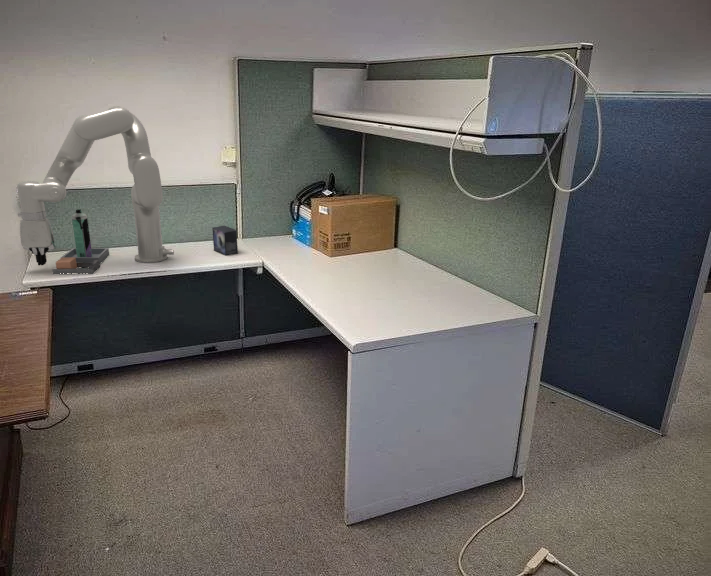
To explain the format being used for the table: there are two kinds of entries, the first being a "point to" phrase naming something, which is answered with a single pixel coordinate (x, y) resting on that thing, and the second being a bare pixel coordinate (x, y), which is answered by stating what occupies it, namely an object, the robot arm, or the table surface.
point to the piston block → (66, 263)
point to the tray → (97, 254)
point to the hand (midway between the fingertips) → (42, 264)
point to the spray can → (81, 234)
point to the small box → (225, 240)
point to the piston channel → (92, 268)
